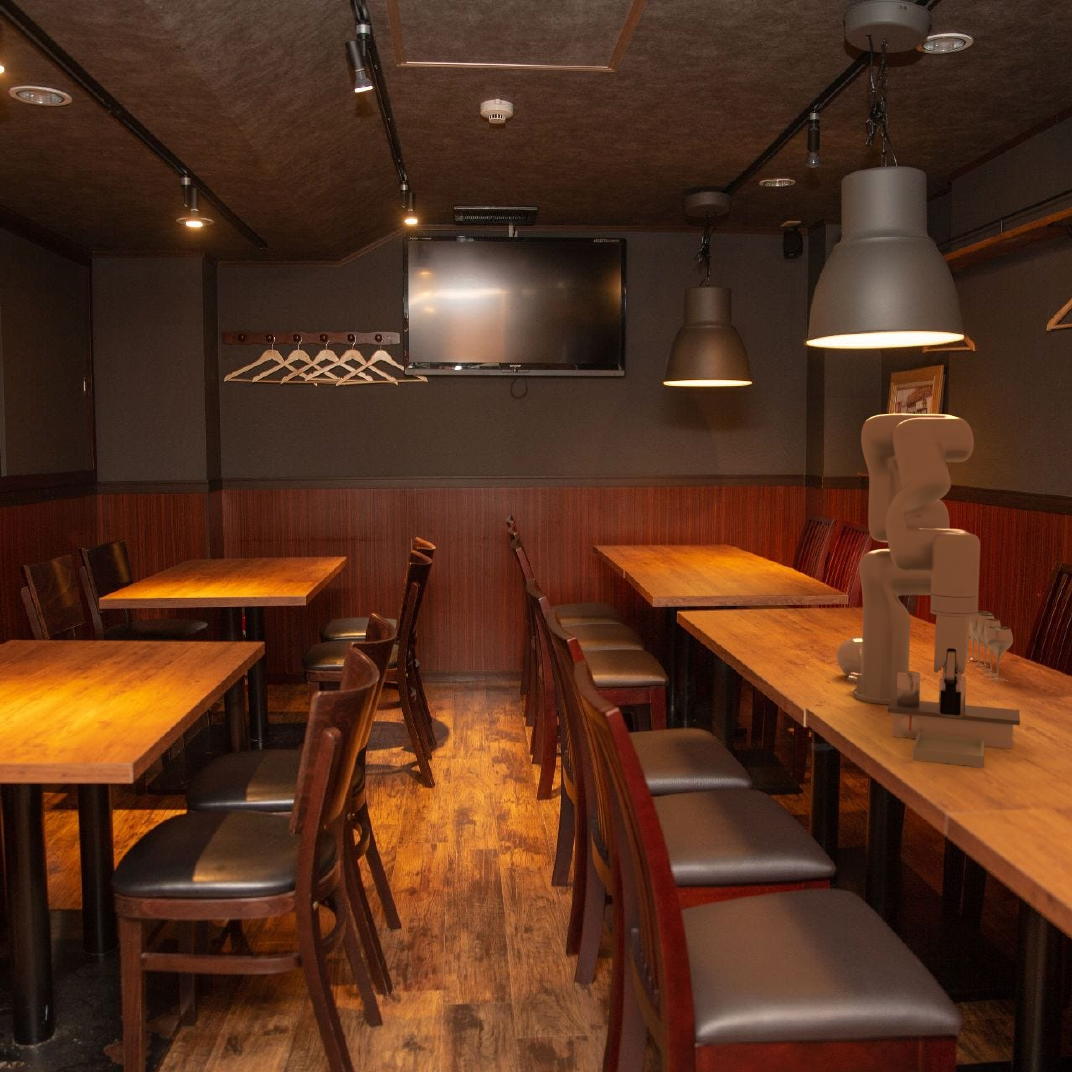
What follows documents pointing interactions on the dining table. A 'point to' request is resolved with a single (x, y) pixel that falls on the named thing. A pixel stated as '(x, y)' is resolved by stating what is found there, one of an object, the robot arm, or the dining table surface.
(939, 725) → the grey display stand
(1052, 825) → the dining table surface
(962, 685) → the cylinder
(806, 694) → the dining table surface
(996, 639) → the goblet set
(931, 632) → the dining table surface
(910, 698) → the left steel weight
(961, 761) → the grey square tray
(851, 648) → the potion bottle
